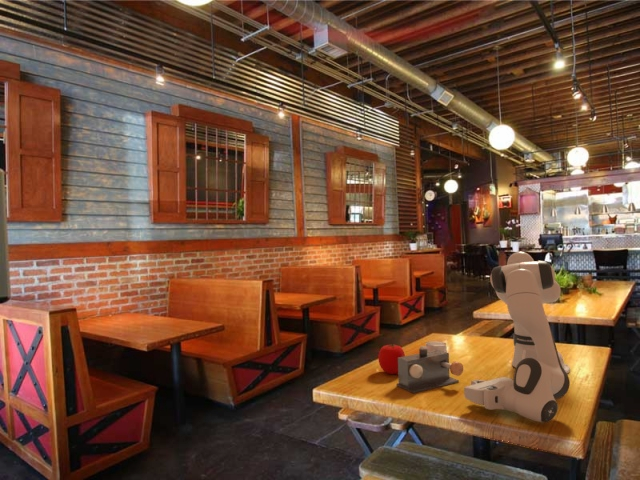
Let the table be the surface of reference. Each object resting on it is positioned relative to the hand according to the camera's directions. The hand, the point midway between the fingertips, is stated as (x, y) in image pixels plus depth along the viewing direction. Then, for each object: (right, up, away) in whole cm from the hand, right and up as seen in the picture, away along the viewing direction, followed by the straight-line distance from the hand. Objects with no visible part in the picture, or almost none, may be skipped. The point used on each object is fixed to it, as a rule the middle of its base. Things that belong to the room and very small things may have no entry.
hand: (473, 382), depth 155 cm
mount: (-12, -6, +17) cm, 22 cm away
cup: (-4, -6, +33) cm, 34 cm away
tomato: (-24, -7, +33) cm, 41 cm away
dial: (-13, +5, +19) cm, 24 cm away
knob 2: (-4, -2, +17) cm, 17 cm away
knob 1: (-20, -2, +15) cm, 25 cm away
